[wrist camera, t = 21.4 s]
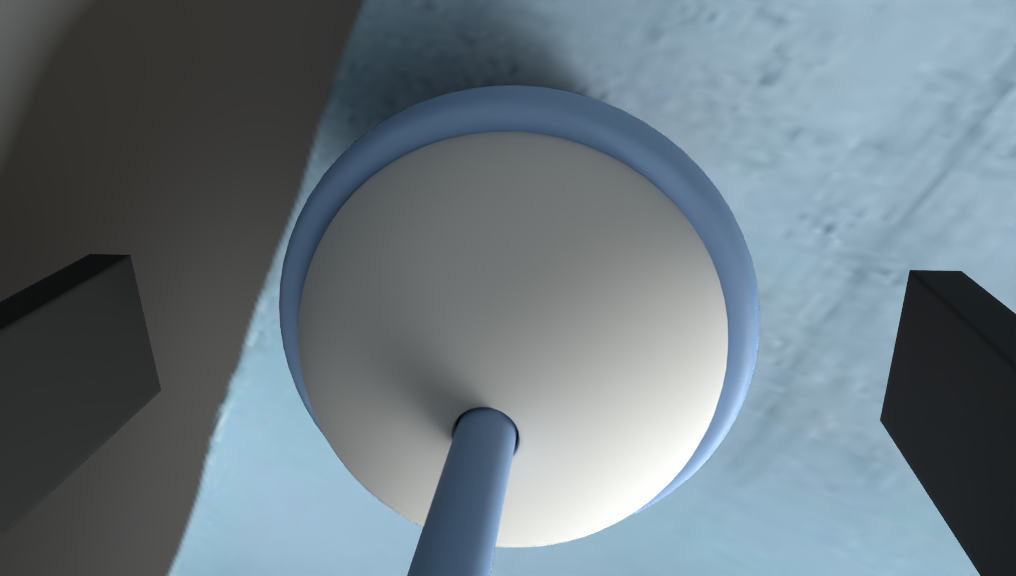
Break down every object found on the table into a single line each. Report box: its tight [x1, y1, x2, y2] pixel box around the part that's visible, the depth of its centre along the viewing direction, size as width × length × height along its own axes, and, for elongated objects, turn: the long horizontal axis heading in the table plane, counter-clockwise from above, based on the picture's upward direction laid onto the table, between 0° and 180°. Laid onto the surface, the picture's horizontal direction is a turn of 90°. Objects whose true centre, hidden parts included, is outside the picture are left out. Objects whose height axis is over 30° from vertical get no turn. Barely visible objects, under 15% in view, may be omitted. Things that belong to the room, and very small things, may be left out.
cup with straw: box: [279, 85, 760, 576], centre depth 15 cm, size 9×9×18 cm
